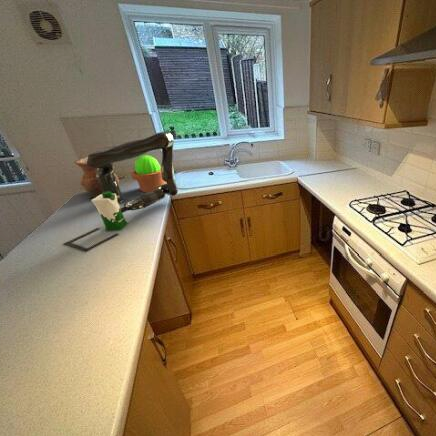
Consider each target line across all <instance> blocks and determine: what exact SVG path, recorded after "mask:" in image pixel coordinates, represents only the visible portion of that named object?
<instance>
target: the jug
mask: <svg viewBox="0 0 436 436" xmlns="http://www.w3.org/2000/svg"><path fill="white" fill-rule="evenodd" d="M86 157H87V156H85V157H82V158H79V159H77V160H75V162H74V163H75V164H76V165H77V166H78V167H79V168H81V170H82V172H83V175H82V176H81V179H80V186H81V188H82V189H83V190H84V191H85V192H86V193H87V194H90V195H91V196H93V197H97V196H99V195H101V194H102V193H103V192H102V189H101V187H100V184H99V182H98V180H97V178H96V173H97V169H96V168H92V167H90V166H88V165H87V164H86V161H85V159H86ZM112 166H113V169H114V170H115V165H114V163H112ZM114 176H115V178H116V181H117V183H118V185H119V184H120V180H119V179H120V178H119V176H118V175H117V174H116V173H114Z"/></svg>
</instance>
